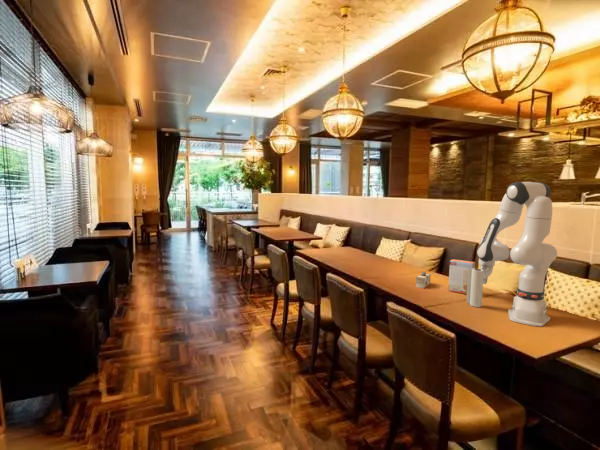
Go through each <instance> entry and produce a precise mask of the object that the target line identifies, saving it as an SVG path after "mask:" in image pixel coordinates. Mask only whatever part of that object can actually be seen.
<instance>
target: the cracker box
mask: <svg viewBox="0 0 600 450" xmlns="http://www.w3.org/2000/svg"><path fill="white" fill-rule="evenodd" d="M468 268H469V269H476V262H475V261H469V260H462V259H455V258H454V259H453V258H452V259H450V260H449V272H448V288H447V289H448V292H453V293H457V294H461V295H467V283H468Z"/></svg>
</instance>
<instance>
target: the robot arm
mask: <svg viewBox="0 0 600 450" xmlns="http://www.w3.org/2000/svg"><path fill="white" fill-rule="evenodd" d="M524 206H526V213H525V219H524V220H525V221H524V227H523V230H522V234H521V236H520V238H519V240H518V242H517V243H516V244H515V246H513V247H512V248H511V249H510V247H509V246H508V245H507V244H505V243H502V242H500V241H499V240H498V239H497V237H498V235H499V233H500V232H501V231H503V230H505V229H506V228H509V227H512V226H514V225H516V224H517V223H518V222H519V220H520V218H521V215H522V211H523V208H524ZM552 218H553V201H552V199H551V187H550V186H549V185H548V184H546V183H543V182H537V181H535V182H534V181H516V182H515V181H514V182H512V183H510V184H509V185H508V186H507V188H506V191H505V194H504V196H503V197H502V200H501V202H500V205H499V207H498V212H497V213H496V215H495V216H494V218H493V219H492V220H491V221H490V223H489V225H488V227H487V229H486V230H485V231H486V232H485V234H484V236H482V237H481V239H480V244H479V246H478V248H477V250H476V254H477V257H478V265H480V268H479V269H481V270H484V275H483V285H486V284H488V278H489V276H490V275H492V273H493V269H494V267H495V265H496V264H495V263H496V261H505V260H507V259H509V258H510V259H511V261H512V262H513V263H514V264H517V265H522V266H524V268H523V270H521V272H520V273H519V276H518V277H519V278H518V287H517V289H516V295H515V296H513V301H512V303H513V304H512V305H511V308H510V309H507V312H508V318H509V320H510V321H512V322H515V323H519V324H521V325H527V326H533V327H543V326H544V325H546V324H547V323H548V322H549V321H550V320H551V317H550V316H548V315H547V308H548V304H547V302H546V301H545V300H544V299H545V291H544V289H545V288H544V287H545V280H546V274H547V272H548V270H549V268H550V266H551V264H553V262H554V261H555V260H556V258H557V257H558V250H557V248H556V247H555V246H554V245H552V244H549V243H546V242H544V240H545V239H546V238H547V236H549V235H550V233H551V227H552V221H553V220H552Z"/></svg>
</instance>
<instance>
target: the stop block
mask: <svg viewBox="0 0 600 450" xmlns="http://www.w3.org/2000/svg"><path fill="white" fill-rule="evenodd" d="M431 275H432V274H431V273H426V272H424V271H423V272H421V274H419V275H417V276H416V278H415V288H420V289H425V288H426V287H428V286H429V285H431Z"/></svg>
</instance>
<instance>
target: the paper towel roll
mask: <svg viewBox="0 0 600 450" xmlns="http://www.w3.org/2000/svg"><path fill="white" fill-rule="evenodd" d="M483 275H484V270H481V269H480V268H475V269H469V268H468V283H467V294H466V299H465V300H466V302H465V303H466V304H469V306H471V307H474V308H480V307H482V303H483V291H484V290H483V288H484V287H483V286H484V284H483Z"/></svg>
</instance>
